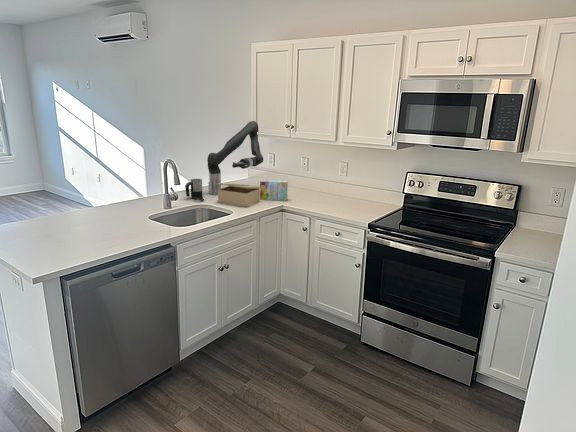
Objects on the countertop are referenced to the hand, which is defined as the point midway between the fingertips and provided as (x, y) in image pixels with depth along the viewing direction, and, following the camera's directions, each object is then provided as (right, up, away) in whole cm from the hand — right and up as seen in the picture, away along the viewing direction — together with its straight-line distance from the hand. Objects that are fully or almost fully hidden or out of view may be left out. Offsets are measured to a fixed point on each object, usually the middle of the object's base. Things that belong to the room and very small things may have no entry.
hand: (233, 166), depth 283 cm
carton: (+3, -26, +14) cm, 29 cm away
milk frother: (-30, -24, +19) cm, 42 cm away
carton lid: (+3, -14, +10) cm, 18 cm away
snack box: (+29, -24, +24) cm, 44 cm away
